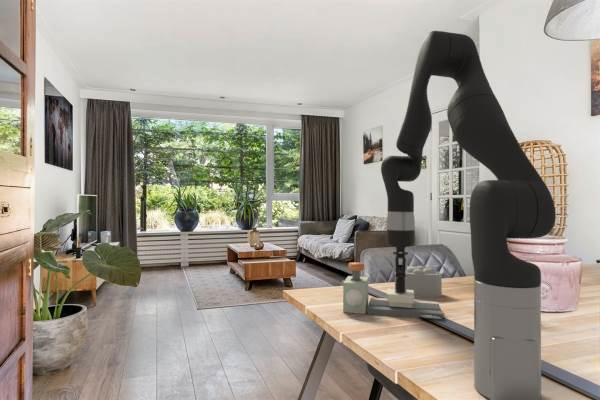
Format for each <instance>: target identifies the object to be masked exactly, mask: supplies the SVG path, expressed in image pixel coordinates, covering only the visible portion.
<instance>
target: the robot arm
mask: <svg viewBox="0 0 600 400" xmlns="http://www.w3.org/2000/svg"><path fill="white" fill-rule="evenodd" d="M414 67H415V68H414V73H413V77H412V81H411V87H410V93H409V96H408V97H409V98H408V103H407V108H406V112H405V116H404V119H403V123H402V125H401V127H400V131H399V134H398V137H397V139H396V144H395V145H396V149H397V150H398V151H399V152H401V153H402V154H404V155H388V156H386V157H385V158H384V159H383V160H382V162H381V165H380V173H381V176H382V177H381V178H382V180H383V183H384V188H385V192H386V197H387V214H386V215H387V216H386V245H387V246H390V247H395V250H396V251H392V259H393V268H394V270H395V273H396V274H395V273H394V278H395V277H396V292H397V293H404V292H405V278H406V275H405V270H407V267H408V259H409V252H408V251H406V247H414V246H415V245H416V241H415V240H416V239H415V237H416V236H415V235H416V234H415V233H416V232H415V231H416V230H415V229H416V225H415V224H416V220H415V212H414V211H415V209H414V208H415V196H414V193H413V191H411V190H407V189H404V188H402V187H401V186H400V184H399V182H408V183H409V182H414V181H416V180H417V179H418V178H419V176H420V174H421V170H422V160H423V152H424V147H425V145H426V142H427V140H428V137H429V135H430V132H431V129H432V125H433V124H432V123H433V118H432V117H433V116H432V111H431V107H430V102H429V100H428V86H429V82H430V79H431V77H432V76H434V77H440V78H441V77H443V78H450V79H453V80H454V82H455V83H456V85H457V87H458V88H457V89H456V91H455V92H454V93H453V95H452V97H451V99H450V100H449V103H448V106H447V110H446V115H447V120H448V123H449V127H450V128H451V131H452V132H451V133H452V134H453V137H454V140H455V141H456V142H457V144H458V145H459V146H460V148H461V149H462V150H464V151H465V152H466V153H467V154H468V155H470V156H471V157H472V158H474V160H476V161H477V162H478V163H480V164H482V165H483V166H484V167H486V169H488V170H489V171H490V172H491V173H492V174H493V176H494V177H495V178H496V179H489V180H488V179H487V180H486V179H485V180H482V181H480V182H478V183H476V185H475V186H474V188H473V189H472V192H471V194H470V200H469V226H470V227H469V228H470V229H469V230H470V242H471V243H470V244H471V245H470V246H471V261H472V266H473V272H474V274H473V275H474V276H473V281H474V282H473V283H474V284H473V286H474V287H473V289H474V291H473V292H474V296H473V327H474V328H473V342H474V343H473V356H474V357H473V362H474V363H473V364H474V365H473V366H474V367H473V370H474V372H473V376H474V377H473V379H474V381H473V385H474V389H476V391H477V392H478V393H480V394H481V395H482V396H483V397H486V398H487V399H489V400H542V310H541V308H542V273H541V269H540V267H539V266H538V265H537V264H534V263H533V262H530V261H527V260H525V259H521V258H519V257H517V256H515V254H513V253H512V252H511V251H510V250H509V245H508V239H512V240H513V239H520V240H521V239H522V240H523V239H524V240H525V239H539V238H542V237H546V236H547V235H549V233H550V232H552V230H553V229H554V226H555V223H556V219H557V218H556V217H557V216H556V207H555V201H554V199H553V197H552V194H551V192H550V189H549V188H548V186H547V185H546V183H545V181H544V179H543V178H542V177H541V175H540V173H539V172H538V170H536V169H537V168H535V166H534V165H533V164H532V162H531V161H530V159H529V157H528V156H527V154H526V153H525V151H524V150H523V148H522V147H521V145H520V143H519V141H518V138H517V137H516V136H515V134H514V132H513V130H512V128H511V126H510V124H509V122H508V119H507V117H506V115H505V112H504V111H503V107H501V104H500V103H499V102H500V101H498V100H499V99H497V96H496V95H495V93H494V91H493V90H492V87H491V84H490V83H489V81H488V78H487V76H486V73H485V71H484V68H483V66H482V61H481V58H480V55H479V52H478V48H477V45H476V43H475V41H474V39H473V38H472V37H470V36H469V35H467V34H464V33H457V32H455V33H454V32H448V31H442V30H432V31H430V32H428V33H427V34H426V35H425V37H424V39H423V41H422V42H421V45H420V47H419V51H418V55H417V58H416V63H415V66H414ZM406 155H407V156H406Z"/></svg>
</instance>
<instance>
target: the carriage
mask: <svg viewBox="0 0 600 400" xmlns="http://www.w3.org/2000/svg"><path fill="white" fill-rule="evenodd" d="M395 274H396V272H394V275H395ZM405 275H406V273H405ZM386 299H387V302H389V306H392V307H406V308H412V303H414V301H415V297H414V291H413V290H406V278H405V292H404V293H397V292H396V277H395V276H394V288H387V292H386Z"/></svg>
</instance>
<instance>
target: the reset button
mask: <svg viewBox="0 0 600 400" xmlns="http://www.w3.org/2000/svg"><path fill="white" fill-rule="evenodd" d="M348 270H350V271H352V275H351V276H352V281H360V277H361V271H364V270H365V263H364V262H358V261H355V262H353V261H352V262H348Z"/></svg>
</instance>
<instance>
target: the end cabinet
mask: <svg viewBox="0 0 600 400" xmlns="http://www.w3.org/2000/svg"><path fill="white" fill-rule="evenodd" d="M342 284H343V288H342V290H343V292H342V293H343V295H342V297H343V301H342V306H343V307H342V309H343V310H342V312H343V313H347V314H348V313H352V314H364V315H366V313H367V308H368V305H369V285H370V284H369V276H360V281H352V275H348V276H347V277H346V278H345V280H344V281H343V283H342Z"/></svg>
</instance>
